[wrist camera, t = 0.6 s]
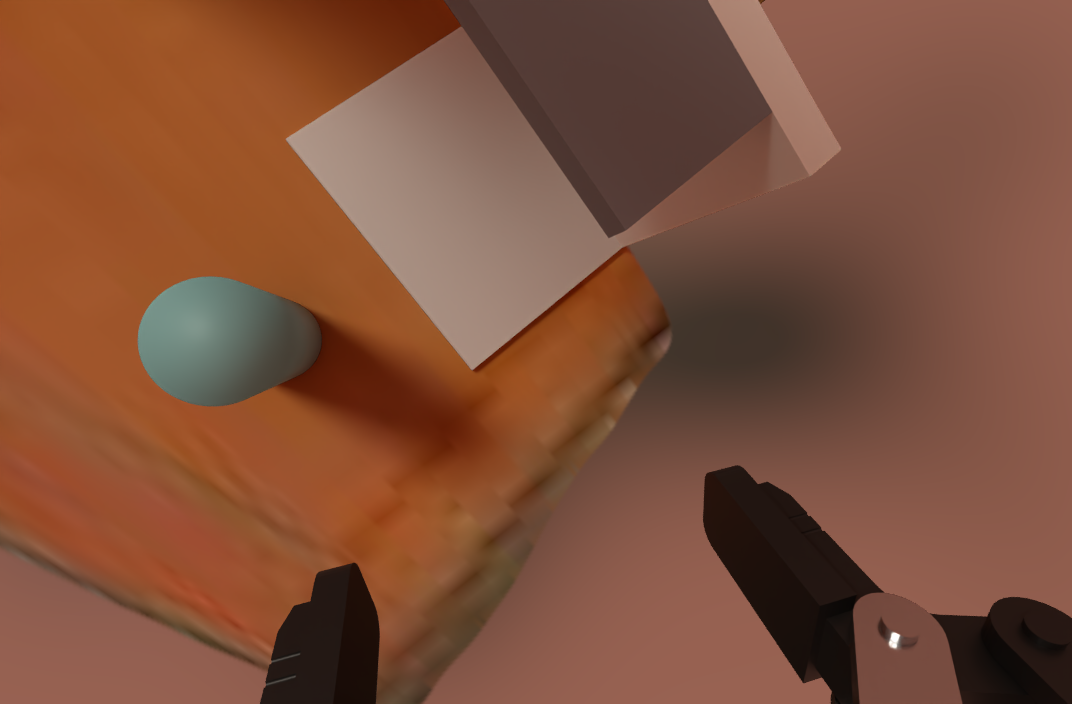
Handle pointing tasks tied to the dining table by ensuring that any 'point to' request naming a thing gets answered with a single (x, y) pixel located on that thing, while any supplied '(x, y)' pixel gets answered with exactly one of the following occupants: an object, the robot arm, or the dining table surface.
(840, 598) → the robot arm
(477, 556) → the dining table surface
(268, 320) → the post
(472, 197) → the stand
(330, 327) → the dining table surface
